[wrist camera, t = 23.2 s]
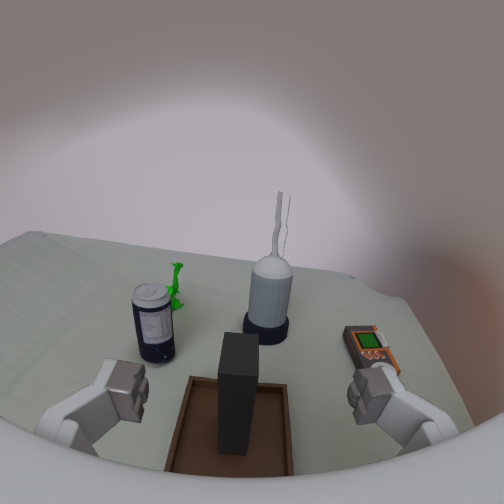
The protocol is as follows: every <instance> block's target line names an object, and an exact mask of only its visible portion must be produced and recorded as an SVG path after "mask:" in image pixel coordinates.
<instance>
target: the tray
mask: <svg viewBox="0 0 504 504" xmlns="http://www.w3.org/2000/svg"><path fill="white" fill-rule="evenodd" d="M164 471H165V472H172V473H179V474H188V475H198V476H210V477H230V478H264V477H284V476H294V473H293V458H292V445H291V431H290V419H289V406H288V395H287V384H270V383H258V384H257V391H256V398H255V404H254V411H253V418H252V424H251V431H250V437H249V444H248V450H247V456H241V455H229V454H218V379H211V378H203V377H196V376H189V380H188V384H187V387H186V391H185V394H184V398H183V401H182V405H181V409H180V412H179V416H178V420H177V423H176V427H175V431H174V435H173V438H172V442H171V446H170V450H169V454H168V458H167V461H166V465H165V469H164Z"/></svg>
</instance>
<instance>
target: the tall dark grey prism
mask: <svg viewBox="0 0 504 504" xmlns="http://www.w3.org/2000/svg"><path fill="white" fill-rule="evenodd" d="M258 377H259V335H256V334H243V333H231V332H225V333H224V339H223V345H222V351H221V356H220V362H219V368H218V454H229V455H241V456H247V450H248V444H249V437H250V431H251V424H252V418H253V411H254V404H255V398H256V391H257V384H258Z"/></svg>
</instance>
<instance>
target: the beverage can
mask: <svg viewBox="0 0 504 504" xmlns="http://www.w3.org/2000/svg"><path fill="white" fill-rule="evenodd" d="M132 307H133V314H134V321H135V327H136V334H137V339H138V345H139V350H140V355H141V357H142V358H143V359H144V360H145V361H147V362H149V363H151V364H155V365H160V364H164V363H166V362H168V361H169V360H171V359H172V358H173V357H174V355H175V345H174V333H173V321H172V306H171V296H170V294H169V293H168V289H167V287H166V286H164V285H162V284H160V283H144V284H141V285H139V286H137V287H136V288H135V289H134V291H133V297H132Z"/></svg>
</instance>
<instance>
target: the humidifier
mask: <svg viewBox="0 0 504 504" xmlns="http://www.w3.org/2000/svg"><path fill="white" fill-rule="evenodd" d="M282 194H283V192H278V197H277V207H276V217H275V219H276V226H275V229H274V233H273V239H272V252H271V254H270V255H269V256H266V257H263V258H262V259H260V260H259V261H257V262H256V264H255V265H254V267H253V271H252V276H251V287H250V298H249V309H248V312H247V313H246V314H245V317H244V321H243V334H256V335H259V344H261V345H275V344H279V343H280V342H282V341H284V340H285V338H286V337H287V332H288V326H289V319H288V317H287V316H286V315H287V309H288V303H289V297H290V291H291V284H292V278H293V275H292V274H293V271H292V268H291V266H290V265H289V264H288V262H287V261H286V260H285V259H283V256H282V258H281V257H280V256H279V253H278V235H279V232H280V228H281V206H282ZM289 202H290V200H289ZM289 204H290V203H289ZM288 212H289V208H288ZM286 223H287V222H286ZM286 226H287V224H286ZM287 233H288V229H287ZM286 236H287V235H286ZM285 240H286V238H285ZM284 248H285V245H284ZM283 255H284V250H283Z"/></svg>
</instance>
